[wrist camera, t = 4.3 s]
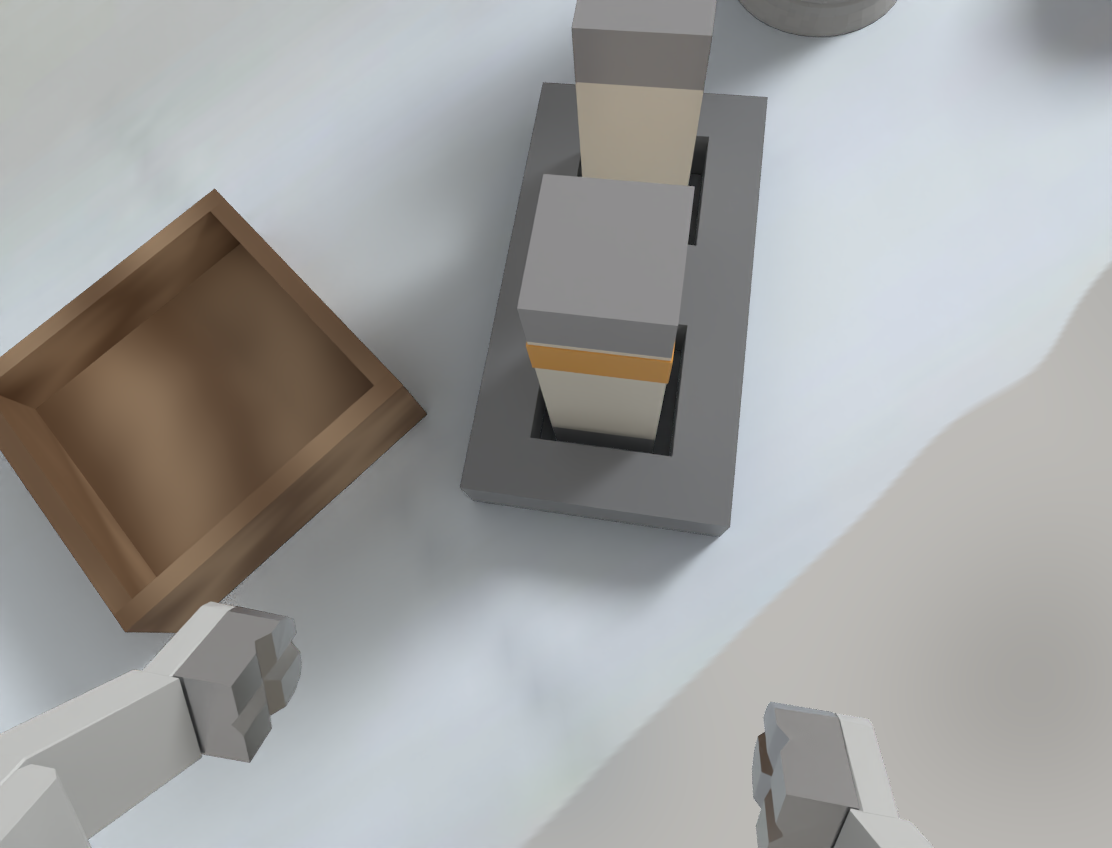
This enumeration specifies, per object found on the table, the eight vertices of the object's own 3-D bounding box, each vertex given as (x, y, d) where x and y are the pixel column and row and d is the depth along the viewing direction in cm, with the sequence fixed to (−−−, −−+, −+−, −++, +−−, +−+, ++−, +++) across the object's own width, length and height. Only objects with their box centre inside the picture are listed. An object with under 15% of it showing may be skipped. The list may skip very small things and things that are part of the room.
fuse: (675, 261, 30) (712, 35, 19) (587, 253, 31) (571, 28, 19) (685, 186, 32) (724, -70, 20) (600, 178, 32) (591, -75, 21)
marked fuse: (653, 454, 28) (680, 327, 16) (555, 441, 28) (514, 309, 17) (664, 363, 29) (696, 185, 18) (570, 352, 29) (542, 172, 18)
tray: (185, 632, 27) (125, 632, 24) (30, 416, 31) (-41, 389, 27) (427, 414, 29) (403, 385, 26) (255, 234, 33) (214, 188, 29)
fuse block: (719, 536, 27) (729, 527, 24) (472, 500, 28) (459, 488, 25) (756, 137, 32) (767, 97, 30) (548, 122, 33) (542, 82, 31)
